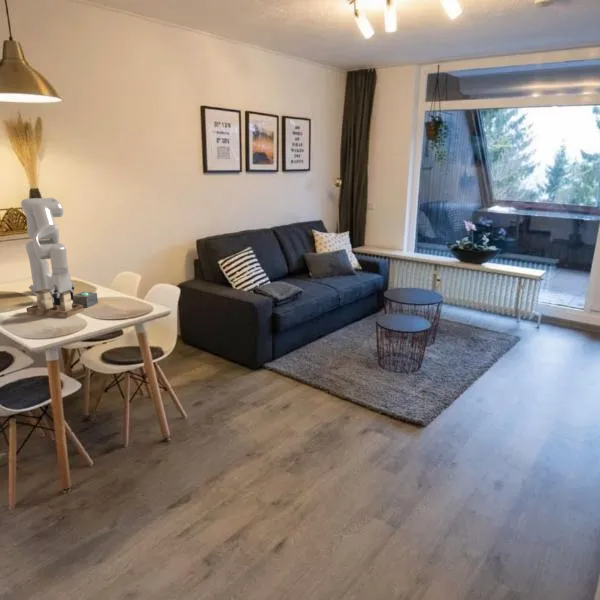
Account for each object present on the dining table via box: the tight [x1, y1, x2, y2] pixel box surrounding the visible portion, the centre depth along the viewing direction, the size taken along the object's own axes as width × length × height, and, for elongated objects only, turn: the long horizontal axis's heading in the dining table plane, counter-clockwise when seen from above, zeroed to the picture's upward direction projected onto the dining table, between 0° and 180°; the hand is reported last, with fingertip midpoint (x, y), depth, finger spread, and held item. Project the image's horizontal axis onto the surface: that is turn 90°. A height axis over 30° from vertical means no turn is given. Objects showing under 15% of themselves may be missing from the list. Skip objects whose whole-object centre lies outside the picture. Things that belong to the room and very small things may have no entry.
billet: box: [56, 291, 73, 311], centre depth 250 cm, size 5×5×10 cm
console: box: [72, 291, 99, 309], centre depth 266 cm, size 9×9×6 cm
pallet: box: [26, 302, 85, 319], centre depth 253 cm, size 24×13×3 cm, turn 76°
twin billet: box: [35, 288, 53, 310], centre depth 253 cm, size 5×5×10 cm
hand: (64, 302), depth 251 cm, fingers open, 9 cm apart
